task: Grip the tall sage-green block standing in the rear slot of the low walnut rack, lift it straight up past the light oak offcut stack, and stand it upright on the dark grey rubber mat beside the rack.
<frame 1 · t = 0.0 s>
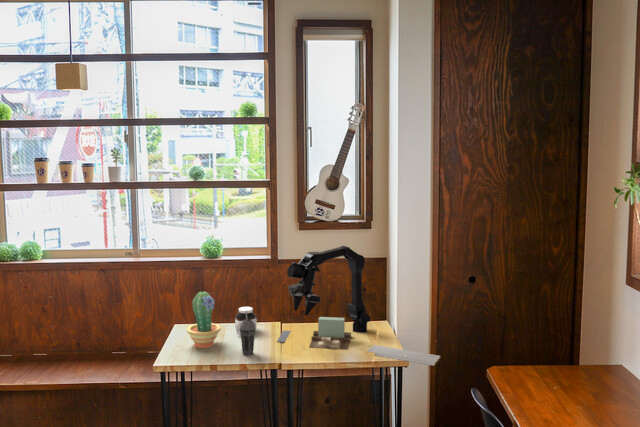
hand: (300, 313, 277), 15 cm above the table, tool pointing down, fingers open, 9 cm apart
potted cactus: (204, 344, 280), on the table
spread jar: (245, 333, 297), on the table
rubber mat: (294, 337, 290), on the table
beverage cup: (247, 354, 268), on the table
baseboard molding: (402, 358, 266), on the table
tall board: (331, 339, 285), point 1 cm above the table, touching board rack
board rack: (330, 343, 282), on the table
offcut stack: (329, 346, 276), point 1 cm above the table, touching board rack
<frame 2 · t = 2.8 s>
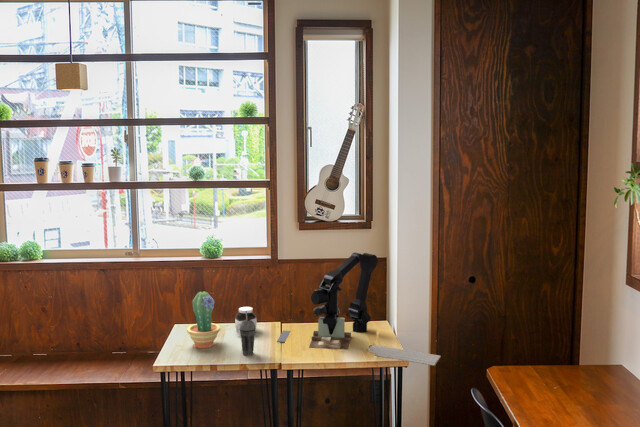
hand: (331, 332, 285), 4 cm above the table, tool pointing down, fingers closed on tall board, 4 cm apart
tall board: (331, 339, 285), point 1 cm above the table, touching board rack, gripper
everything else where it was.
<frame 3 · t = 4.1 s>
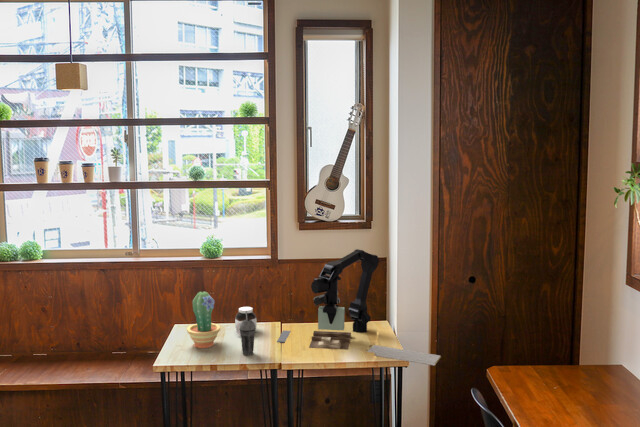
hand: (331, 322, 284), 9 cm above the table, tool pointing down, fingers closed on tall board, 4 cm apart
tall board: (331, 328, 285), point 6 cm above the table, touching gripper
everything else where it was.
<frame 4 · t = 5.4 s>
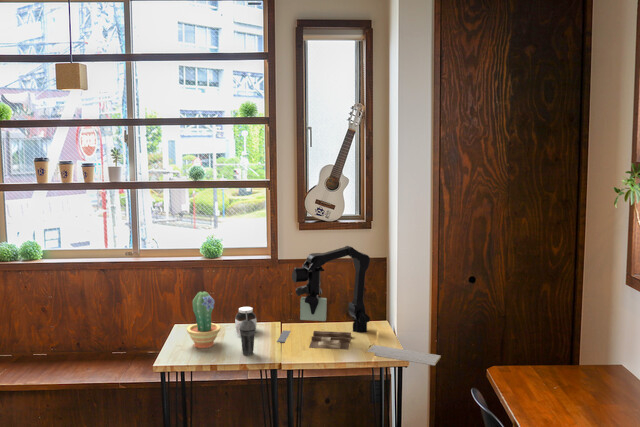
hand: (313, 313, 285), 13 cm above the table, tool pointing down, fingers closed on tall board, 4 cm apart
tall board: (313, 319, 286), point 10 cm above the table, touching gripper
everything else where it was.
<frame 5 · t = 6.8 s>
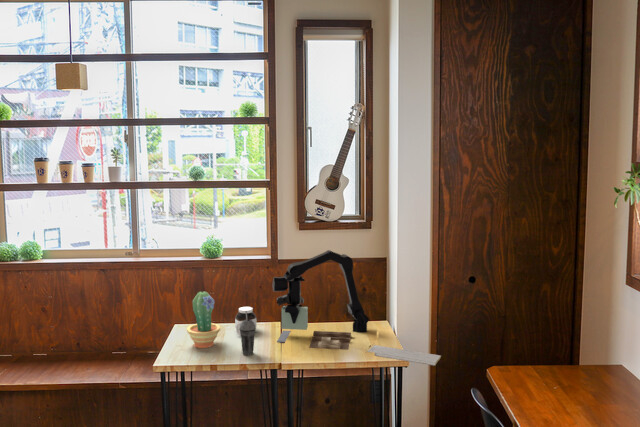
hand: (294, 322, 289), 8 cm above the table, tool pointing down, fingers closed on tall board, 4 cm apart
tall board: (294, 328, 289), point 5 cm above the table, touching gripper
everything else where it was.
when the fingers open (5 cm above the table, at t = 8.0 s): tall board drops 1 cm, resting on rubber mat.
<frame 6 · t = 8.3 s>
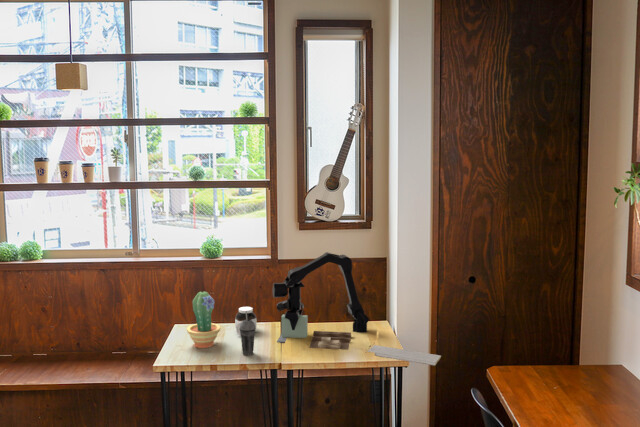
hand: (294, 327, 289), 5 cm above the table, tool pointing down, fingers open, 7 cm apart
tall board: (294, 336, 290), point 1 cm above the table, touching rubber mat
everything else where it was.
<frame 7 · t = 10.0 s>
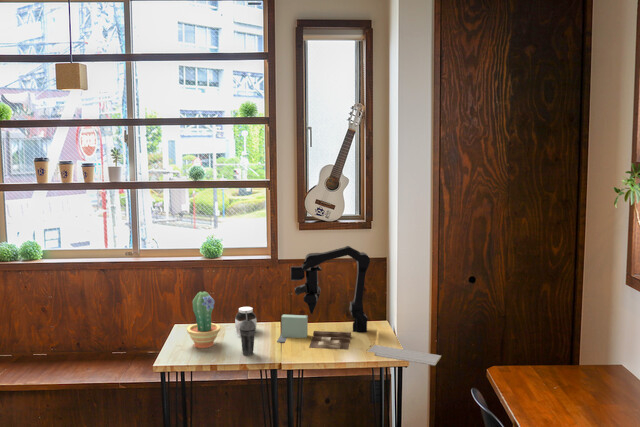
hand: (312, 310, 294), 11 cm above the table, tool pointing down, fingers open, 9 cm apart
nothing on the table moved.
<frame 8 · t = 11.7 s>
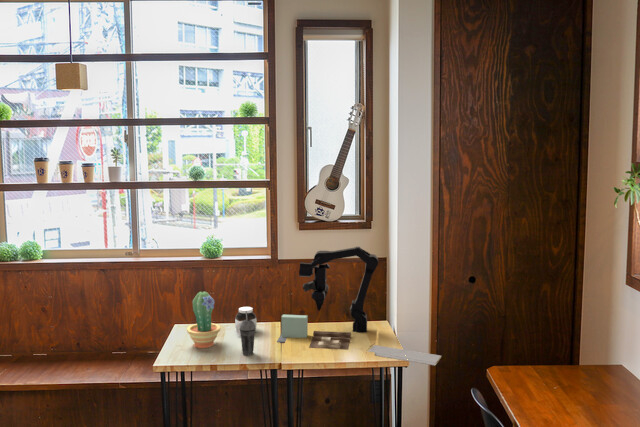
hand: (320, 307, 298), 12 cm above the table, tool pointing down, fingers open, 9 cm apart
nothing on the table moved.
at the end: tall board inside the target area (0.0 cm from its centre), point 0.6 cm above the table; tall board tilted 0°; offcut stack moved 0.0 cm from its start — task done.
